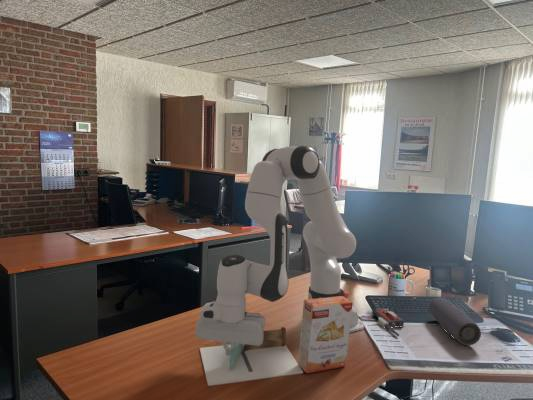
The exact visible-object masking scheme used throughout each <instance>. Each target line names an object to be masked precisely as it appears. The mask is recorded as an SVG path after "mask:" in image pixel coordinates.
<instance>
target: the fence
mask: <svg viewBox="0 0 533 400" xmlns="http://www.w3.org/2000/svg"><path fill="white" fill-rule="evenodd" d="M286 328H287V327H285V326H283V327H280V328H279V329H271V330H263V331H264V339H263V343H262V344H261V345H260V346H256V345H247V344H244V350H246V351H247V350H252V349H261V348H270V347H279V346H285V345H286V337H287V336H286V334H287V333H286V331H287V329H286Z"/></svg>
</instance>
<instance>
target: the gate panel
mask: <svg viewBox="0 0 533 400" xmlns="http://www.w3.org/2000/svg"><path fill="white" fill-rule="evenodd" d="M242 350H243V344H239V343H236V345H235V347H234V348H233V349H232V351H231V353H230V367H229V370H233V369H234V367H235V365H236V362H237V360H238V358H239V356H240V354H241V352H242Z"/></svg>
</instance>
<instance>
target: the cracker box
mask: <svg viewBox="0 0 533 400" xmlns="http://www.w3.org/2000/svg"><path fill="white" fill-rule="evenodd" d="M352 306H353V302H352V301H351V300H349V299H348V298H345V297H344V296H337V297H327V298H316V299H308V298H307V299H304V300H303V306H302V316H301V318H302V319H301V327H300V338H299V350H298V360H297V363H298V365H299V366H300V368H301V369H302V371H303V372H304V373H306V375H307V374H311V373H315V372H316V373H317V372H321V371H327V370H332V369H338V368H343V367H346V363H347V354H348V345H349V338H350V336H349V335H350V333H349V330H350V322H351V313H352Z"/></svg>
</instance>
